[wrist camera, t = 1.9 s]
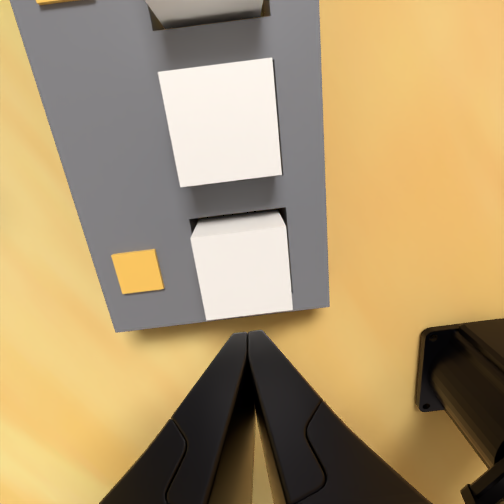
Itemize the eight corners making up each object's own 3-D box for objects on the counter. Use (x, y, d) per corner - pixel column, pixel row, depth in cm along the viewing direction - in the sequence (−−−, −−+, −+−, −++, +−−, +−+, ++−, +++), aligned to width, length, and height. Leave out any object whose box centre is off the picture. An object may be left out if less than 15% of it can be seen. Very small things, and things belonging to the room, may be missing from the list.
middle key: (273, 166, 14) (281, 174, 12) (191, 177, 15) (180, 187, 12) (265, 73, 13) (272, 57, 10) (175, 85, 13) (157, 72, 10)
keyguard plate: (318, 284, 18) (330, 308, 16) (131, 307, 18) (114, 334, 16) (298, -135, 12) (313, -206, 10) (14, -98, 12) (-45, -159, 10)
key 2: (283, 280, 17) (292, 310, 14) (212, 288, 17) (206, 320, 14) (277, 209, 15) (286, 226, 12) (199, 219, 15) (190, 238, 12)
